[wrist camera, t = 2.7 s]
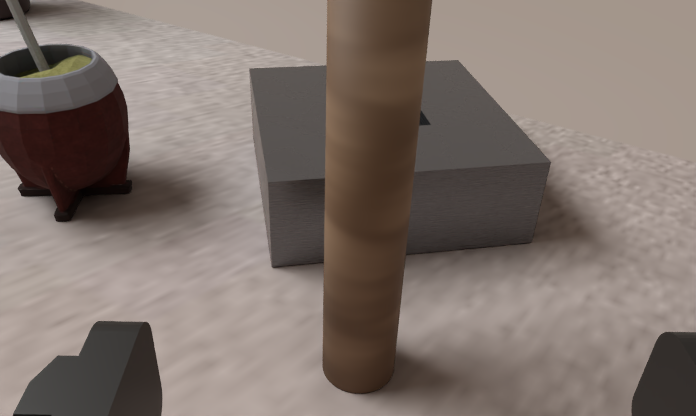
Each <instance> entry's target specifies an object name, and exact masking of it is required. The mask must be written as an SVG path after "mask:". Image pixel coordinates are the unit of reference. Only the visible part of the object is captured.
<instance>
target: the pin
mask: <svg viewBox="0 0 696 416" xmlns="http://www.w3.org/2000/svg"><path fill="white" fill-rule="evenodd" d="M327 1H328V2H327V71H326V147H325V223H324V299H323V371H324V374H325V376H326V377H327V379H328V380H329V381H330V382H331V383H332V384H333V385H334V386H336V387H337V388H339V389H341V390H344V391H346V392H351V393H369V392H373V391H376V390H378V389H380V388H382V387H383V386H384V385H386V384H387V383H388V382H389V380H390V379H391V377H392V375H393V371H394V362H395V353H396V343H397V333H398V324H399V314H400V304H401V295H402V285H403V276H404V266H405V256H406V247H407V237H408V227H409V218H410V208H411V199H412V189H413V179H414V170H415V160H416V150H417V141H418V131H419V122H420V112H421V102H422V93H423V83H424V73H425V64H426V54H427V43H428V35H429V25H430V15H431V6H432V0H327Z"/></svg>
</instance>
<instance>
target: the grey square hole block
mask: <svg viewBox="0 0 696 416" xmlns="http://www.w3.org/2000/svg"><path fill="white" fill-rule="evenodd" d="M249 71H250V88H251V105H252V123H253V139H254V146H255V153H256V160H257V167H258V174H259V181H260V188H261V195H262V202H263V209H264V216H265V223H266V230H267V237H268V244H269V251H270V258H271V265H272V267H279V266H290V265H300V264H311V263H321V262H324V223H325V147H326V71H327V66H303V67H278V68H254V69H249ZM550 163H551V162H550V161H549V159H548V158H547V157H546V156H545V155H544V154H543V153H542V152H541V151H540V150H539V148H538V147H537V146H536V145H535V144H534V143H533V142H532V141H531V140H530V139H529V138H528V136H527V135H526V134H525V133H524V132H523V131H522V130H521V129H520V128H519V127H518V125H517V124H516V123H515V122H514V121H513V120H512V119H511V118H510V117H509V116H508V114H507V113H506V112H505V111H504V110H503V109H502V108H501V107H500V106H499V105H498V104H497V102H496V101H495V100H494V99H493V98H492V97H491V96H490V95H489V94H488V93H487V92H486V90H485V89H484V88H483V87H482V86H481V85H480V84H479V83H478V82H477V81H476V79H475V78H474V77H473V76H472V75H471V74H470V73H469V72H468V71H467V70H466V68H465V67H464V66H463V65H462V64H461V63H460V62H459V61H458V60H453V61H427V62H426V64H425V73H424V83H423V93H422V102H421V112H420V122H419V131H418V141H417V150H416V160H415V170H414V179H413V189H412V199H411V208H410V218H409V227H408V237H407V247H406V254H416V253H427V252H437V251H448V250H458V249H469V248H480V247H490V246H501V245H511V244H522V243H531V242H532V238H533V234H534V230H535V226H536V222H537V217H538V213H539V209H540V205H541V201H542V197H543V192H544V188H545V184H546V180H547V176H548V172H549V168H550Z"/></svg>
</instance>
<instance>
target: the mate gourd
mask: <svg viewBox="0 0 696 416" xmlns="http://www.w3.org/2000/svg"><path fill="white" fill-rule="evenodd" d="M6 2H7V4H8V6H9V9H10V11H11V13H12V15H13V17H14V19H15V21H16V24H17V26H18V28H19V30H20V32H21V34H22V36H23V39H24V41H25V43H26V45H27V47H26V48H22V49H18V50H15V51H11V52H9V53H7V54H5V55H2V56H0V155H1V156H2V158H3V159H4V160H5V161H6V162H7V163H8V164H9V165H10V166H11V168H13V169H14V170H15V171H16V173H17V174H18V176H19V178H20V179H21V181H22V184H20V186H19V187H18V190H19V191H20V193H21V196H53V198H54V200H55V202H56V204H57V209H56V211H55V215H54V216H55V219H56V221H58V222H65V221H70V220H71V218H72V217H73V215H74V213H75V210H76V208H77V206H78V204H79V202H80V200H81V198H82V197H83V196H85V195H97V194H127V193H130V192H131V190H132V181H131V180H126V175H127V168H128V162H129V152H130V145H129V132H128V112H127V105H126V101H125V98H124V94H123V92H122V90H121V88H120V86H119V84H118V79H117V77H116V76H115V74H114V72H113V70H112V69H111V67H110V66H109V65H108V64H107V62H106V61H105V60H104V59H103V58H102V57H101V56H100V55H99V54H97V53H96V52H95V51H93V50H91V49H88V48H86V47H84V46H78V45H71V44H46V45H38V43H37V41H36V39H35V37H34V35H33V32H32V30H31V28H30V26H29V24H28V21H27V19H26V17H25V15H24V13H23V11H22V8H21V6H20V4H19V2H18V0H6Z"/></svg>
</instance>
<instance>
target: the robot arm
mask: <svg viewBox="0 0 696 416" xmlns="http://www.w3.org/2000/svg"><path fill="white" fill-rule="evenodd" d="M161 412H162V387H161V381H160V376H159V370H158V365H157V359H156V353H155V348H154V342H153V336H152V331H151V327H150V325H149V323H147V322H115V321H98V322H96V323H95V324H94V325H93V327H92V328H91V330H90V332H89V335H88V337H87V339H86V341H85V343H84V346H83V348H82V350H81V352H80V354H79V356H57V357H56V358H55V359H54V360H53V361H52V362H51V363H50V364H48V365H47V366H46V367H45V368H44V369H43V370H42V371H41V372H40V373H39V374H38V375H37V376H36V377H35V378H34V379H33V380H32V381H31V382H30V383H29V384H28V386H27V388H26V390H25V392H24V394H23V396H22V398H21V400H20V402H19V404H18V406H17V407H16V409H15V411H14V413H13V416H161ZM632 416H696V332H665V333H663V334H661V335H660V336H659V337H658V339H657V341H656V343H655V346H654V348H653V350H652V353H651V355H650V358H649V360H648V362H647V365H646V367H645V369H644V372H643V374H642V377H641V379H640V381H639V384H638V386H637V389H636V391H635V393H634V396H633V400H632Z"/></svg>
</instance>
